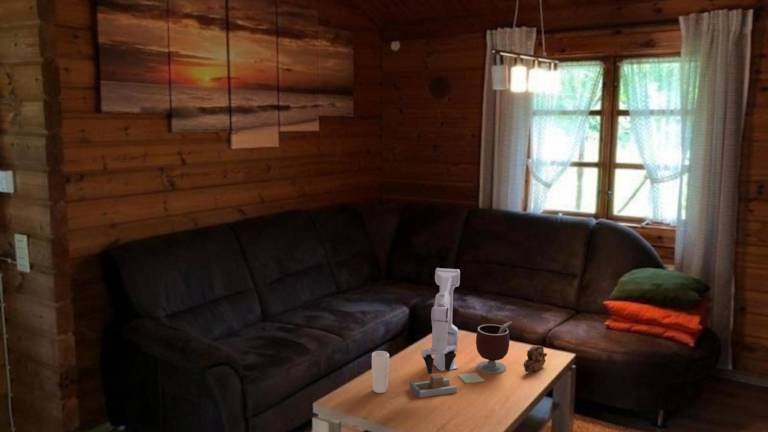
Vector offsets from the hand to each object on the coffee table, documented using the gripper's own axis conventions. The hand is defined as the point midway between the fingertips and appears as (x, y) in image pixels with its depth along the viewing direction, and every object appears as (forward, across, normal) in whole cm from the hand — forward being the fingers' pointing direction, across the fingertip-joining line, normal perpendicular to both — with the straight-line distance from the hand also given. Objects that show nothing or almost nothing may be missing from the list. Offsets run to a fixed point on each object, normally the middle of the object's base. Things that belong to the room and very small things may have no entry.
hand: (438, 371), depth 239 cm
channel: (+9, +1, +4) cm, 10 cm away
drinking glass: (+10, -18, +13) cm, 24 cm away
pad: (+9, +20, +8) cm, 24 cm away
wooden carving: (+9, +50, +5) cm, 52 cm away
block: (+10, +2, +4) cm, 11 cm away
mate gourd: (+9, +35, +14) cm, 39 cm away
